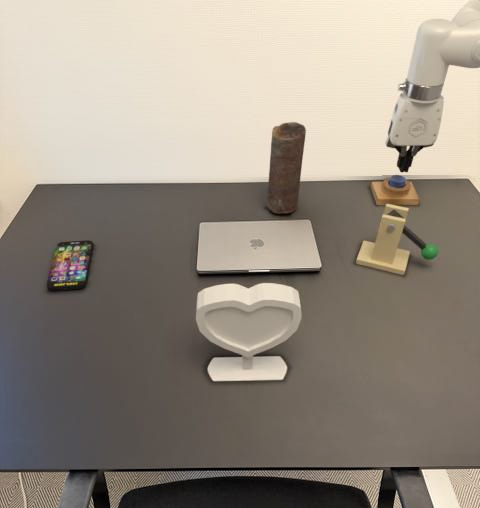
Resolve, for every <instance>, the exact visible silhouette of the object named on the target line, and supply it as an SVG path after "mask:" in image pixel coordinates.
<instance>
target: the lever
mask: <svg viewBox="0 0 480 508" xmlns="http://www.w3.org/2000/svg"><path fill="white" fill-rule="evenodd" d="M387 215H389V216H394V217H399V218H403V217H402V216H401V215H400V214H399V213H398V212H396V211H395V210H394V209H393V210H392V211H391V212H390V213H389V214H387ZM403 219H404V218H403ZM402 235H404V236H405V237H406V238H408V240H410V241H411V242H412V243H413V244H415V245H416V246H417V247H418V248H419V249H420V255H421V257H422V258H423V259H425V260H428V261H431V260H434V259H435V258H437V256H438V254H439V249H438V246H437V245H435V244H434V243H426V242H424V240H422V238H421V237H419V236H418V235H417V234H415V233H414V232H413V231H412V230H411V229H410V228H408V226H406V225H405V224H404V228H403V231H402Z"/></svg>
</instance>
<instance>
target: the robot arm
mask: <svg viewBox="0 0 480 508" xmlns="http://www.w3.org/2000/svg"><path fill="white" fill-rule="evenodd" d="M449 66H456V67H461V68H466V69H479V68H480V0H468V1H467V2H466V3H465V4H464V5H463V6H462V8H460V9H459V10H458V11H457V13H456V14H455V15H454V16H453V18H452V19H451V20H450V19H444V18H431V19H427V20H423V22H421V24H419V26H418V28H417V32H416V36H415V40H414V45H413V48H412V53H411V58H410V62H409V67H408V71H407V75H406V78H405V80H404V82H402V83H398V85H397V91H398V92H400V94H399V96H398V98H397V100H396V103H395V105H394V108H393V111H392V114H391V118H390V121H389V125H388V129H387V137H386V140H385V143H384V144H385V146H386V147H387V148H390V149H395V150H396V151H397V152H398V156H397V161H396V167H397V168H398V170H399V172H400V173H409V170H410V168H411V167H412V164H413V161H414V157H416V156H417V155H418V153H419V152H420V151H422V150H423V149H424V148H430V147H433V146H434V144H435V143H436V141H437V139H438V136H439V133H440V128H441V124H442V117H443V111H444V102H445V101H444V100H445V98H444V96H443V95H442V92H443V88H444V84H445V81H446V78H447V74H448V70H449Z"/></svg>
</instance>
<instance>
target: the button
mask: <svg viewBox="0 0 480 508" xmlns="http://www.w3.org/2000/svg"><path fill="white" fill-rule="evenodd" d="M390 177H391V178H390V182H389V185H390V186H391V187H394V188H403V187H404V185H405V181H406V180H407V179H406V177H405V176H403V175H401V174H393V175H391V176H390Z"/></svg>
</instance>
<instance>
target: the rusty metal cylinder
mask: <svg viewBox="0 0 480 508" xmlns="http://www.w3.org/2000/svg"><path fill="white" fill-rule="evenodd" d="M306 129H307V128H306V127H305V125H304V124H302V123H299V122H296V121H289V122H283V123H281V124H279V125H275V126H273V128H272V130H271V141H270V157H269V170H268V171H269V172H268V184H267V195H266V207H267V208H268V209H269V210H270V211H271V212H272V213H273V214H278V215H280V214H290V213H291V214H292V213H293V212H295V210H296V209H297V208H298V202H299V195H300V186H301V175H302V167H303V159H304V150H305V142H306V133H307V130H306Z"/></svg>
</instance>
